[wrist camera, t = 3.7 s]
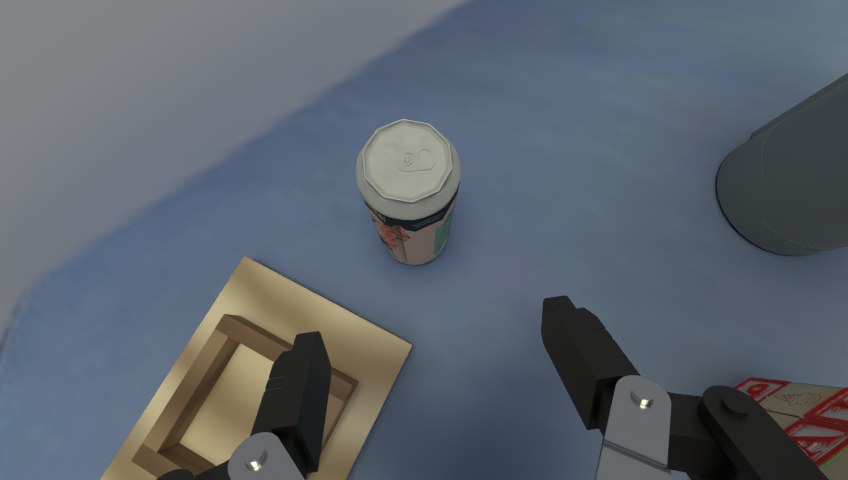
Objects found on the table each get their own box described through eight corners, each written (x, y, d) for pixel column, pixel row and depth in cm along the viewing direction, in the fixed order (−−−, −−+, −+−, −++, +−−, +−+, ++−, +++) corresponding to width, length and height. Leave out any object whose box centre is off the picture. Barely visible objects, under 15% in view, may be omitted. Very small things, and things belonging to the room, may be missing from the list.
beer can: (379, 207, 28) (347, 116, 17) (442, 200, 28) (454, 104, 17) (385, 270, 27) (355, 218, 15) (451, 262, 27) (470, 205, 16)
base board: (254, 260, 27) (229, 249, 24) (413, 344, 26) (411, 345, 22) (112, 482, 24) (60, 506, 20) (287, 596, 22) (263, 643, 19)
